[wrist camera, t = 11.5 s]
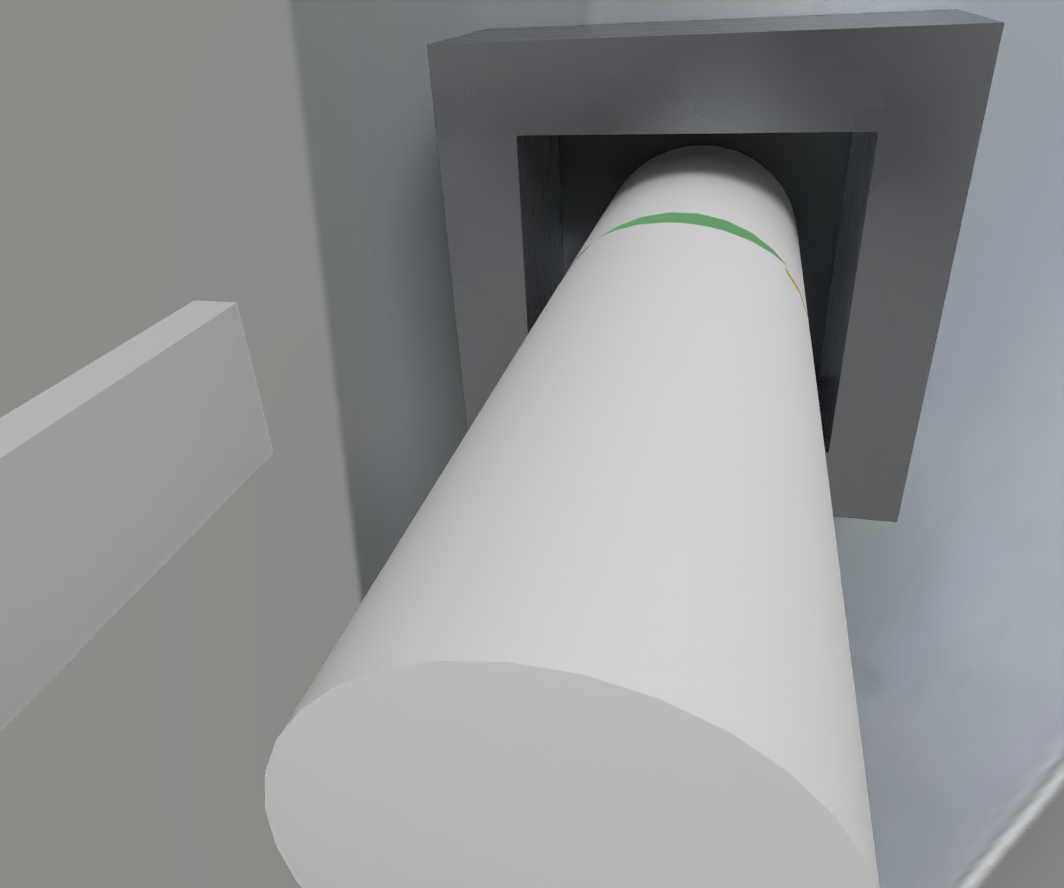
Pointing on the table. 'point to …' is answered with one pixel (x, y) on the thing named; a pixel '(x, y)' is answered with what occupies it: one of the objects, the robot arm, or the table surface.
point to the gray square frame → (731, 107)
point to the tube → (610, 596)
